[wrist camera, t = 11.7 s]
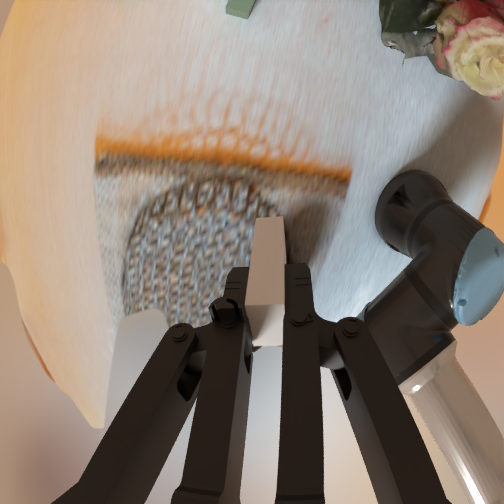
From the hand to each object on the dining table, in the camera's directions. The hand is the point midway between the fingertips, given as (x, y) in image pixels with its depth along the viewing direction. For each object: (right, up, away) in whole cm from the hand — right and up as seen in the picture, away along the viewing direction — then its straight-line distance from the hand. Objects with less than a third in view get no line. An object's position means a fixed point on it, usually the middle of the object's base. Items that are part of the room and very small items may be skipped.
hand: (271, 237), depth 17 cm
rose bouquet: (+30, +38, +10) cm, 49 cm away
